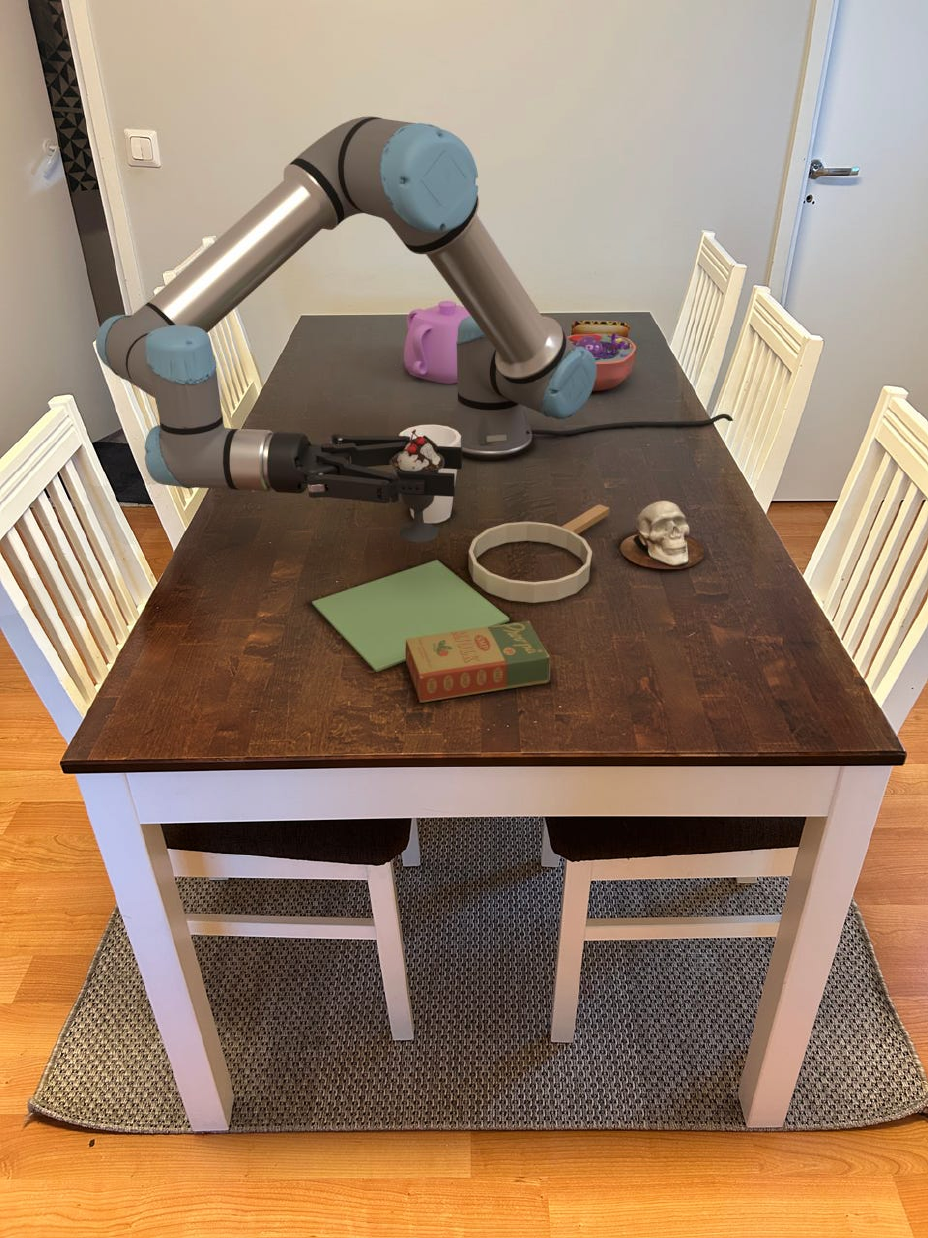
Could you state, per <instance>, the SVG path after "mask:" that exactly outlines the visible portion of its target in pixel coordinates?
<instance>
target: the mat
mask: <svg viewBox="0 0 928 1238" xmlns="http://www.w3.org/2000/svg"><path fill="white" fill-rule="evenodd" d="M311 605H313V607H314V608H315V609H316V610H317V611H318V612H319V613H320V614H321V615H322V616H323V617H324V618H325V620H326V621H328V622H329V624H330V625H331V626H332V627H333V628H334V629H335V630H336V631H337V632H338V633H339V634H340V635H341V636H342V638H344V640H346V641H347V643H348V644H349V645H350V646H351V647H352V648H353V649H354V650H355V651H356V653H358V655H359V656H360V657H361V658H362V659H363V660H364V661H365V662H366V663H367V664H368V665H369V666H370V667H371V668H372V669H373V670H374V672H375V673H379V672H381V671H384V670H386V669H389V668H391V667H394V666H396V665H398V664H401V663H404V662H406V654H405V646H406V639H408V638H415V637H421V636H428V635H435V634H442V633H448V632H455V631H462V630H469V629H475V628H482V627H489V626H495V625H502V624H506V623H508V622H509V621H510V618H509V617H508V616H507V615H506V614H505V613H503V612H502V611H501V610H500V609H498V608H497V607H496V606H495V605H493V604H492V603H491V601H489V600H488V599H486V598H485V597H484V596H483V595H481V594H480V593H479V592H477V591H476V589H474V588H473V587H471V586H470V585H469V584H468V583H466V582H465V581H464V580H463V579H462V578H461V577H459V576H458V575H456V573H454V572H453V571H452V570H450V569H449V568H448V567H447V566H446V565H444V564H443V562H440V561H439V560H438V559H435V560H431V561H428V562H426V563H423V564H420V565H417V566H414V567H411V568H407V569H406V570H403V571H399V572H396V573H393V574H391V575H387V576H384V577H382V578H379V579H376V580H373V581H369V582H367V583H363V584H360V585H358V586H355V587H352V588H348V589H345V590H343V591H340V592H336V593H333V594H330V595H328V596H325V597H322V598H319V599H316V600H312V601H311Z"/></svg>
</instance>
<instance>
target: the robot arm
mask: <svg viewBox="0 0 928 1238" xmlns="http://www.w3.org/2000/svg"><path fill="white" fill-rule="evenodd" d="M478 177H479V173H478V169H477V164H476V161H475V158H474V155H472V153H471V150H470V148H469V147H468V146H467V145H466V143H465V142H464V141H463V140H462V139H461V138H460V137H459V136H457V135H455V134H454V133H453V132H451V131H449V130H446V129H443V128H440V127H439V126H436V125H433V124H430V123H425V122H409V121H403V120H395V119H388V118H382V117H377V116H361V117H356V118H352V119H350V120H348V121H345V122H343V123H340V124H339V125H338V126H336V127H333V129H331V130H330V131H328V132H326V133H325V134H324V135H323V136H321V137H319V138H318V139H317V140H316V141H314V142H313V143H311V145H309V146H308V147H307V148H306V149H305V150H304V151H302V152H301V153H299V154H298V156H296V157H295V158H294V159H293V160H292V161H290V162H289V164H287V165H286V166H285V167H284V169H283V180H282V181H281V182H280V183H279V184H278V185H276V187H274V188H273V189H272V190H271V191H269V193H268V194H267V195H266V196H264V197H263V198H262V199H261V200H260V201H259V202H257V203H256V205H254V206H253V207H252V208H251V209H250V210H249V211H247V212H246V213H245V214H244V215H243V216H242V217H241V218H239V220H237V221H236V222H235V223H234V224H233V225H232V226H231V227H230V228H229V229H228V230H226V231H225V232H224V233H223V234H222V235H220V237H218V238H217V239H216V240H215V241H214V242H213V243H211V244H210V246H209V247H207V248H206V249H205V250H204V251H203V252H201V254H199V255H198V256H197V257H196V258H195V259H194V260H193V261H192V262H190V263H189V264H188V265H187V266H186V267H185V268H184V269H182V271H181V272H179V273H178V274H177V275H176V276H175V277H174V278H173V279H171V281H169V282H168V283H167V284H166V285H165V286H163V288H162V289H161V290H159V291H158V292H157V293H156V294H154V295H153V297H152V298H150V299H149V300H148V301H147V302H145V304H143V306H141V307H140V308H138V310H136V312H134V313H133V314H118V315H115V316H114V315H113V316H111V317H109V318H108V319H106V320H105V321H104V322H102V324H101V325H100V326H99V328H98V330H97V333H96V338H95V347H96V352H97V355H98V356H99V358H100V361H101V362H102V364H104V365H105V366H106V367H107V368H109V370H110V371H111V372H112V373H113V374H114V375H115V376H117V377H119V378H120V379H122V380H125V381H127V382H128V383H130V384H132V385H133V386H136V387H137V389H140V390H141V391H142V392H144V393H145V394H147V395H149V396H151V398H154V400H155V406H156V409H157V414H158V422H159V424H158V425H155V426H153V427H152V428H151V429H150V430H149V431H148V434H147V435H146V438H145V442H144V450H145V454H144V463H145V468H146V470H147V473H148V474H149V476H150V477H151V479H152V480H153V481H154V482H155V483H157V484H159V485H163V486H171V487H180V488H182V489H183V488H184V489H189V490H190V489H194V488H195V489H221V490H222V489H223V490H234V491H235V490H236V491H240V490H241V491H251V492H252V493H254V494H256V493H259V492H271V491H272V490H273V491H275V492H276V493H280V494H303V493H305V492H306V490H307V491H308V497H309V498H311V499H320V498H333V499H343V500H351V501H359V502H368V503H369V502H370V503H378V504H389V503H390V502H391V503H397V502H399V501H400V496H399V494H400V495H401V494H412V495H430V496H448V497H453V498H454V497H455V494H456V489H455V488H456V481H455V473H439V472H420V471H402V470H400V472H399V478H398V475H397V473H392V472H388V471H383V470H379V469H375V468H372V467H382V466H383V467H384V466H391V464H390V460H391V459H392V458H393V457H394V456H395V455H396V454H398V453H399V452H401V451H404V449H405V447H406V445H407V444H408V443H409V442H410V441H411V440H410V437H409V436H399V435H349V434H344V433H343V434H342V433H333V434H331V441H330V442H327V443H325V442H324V443H318V444H317V443H315V444H312V442H310V440H309V437H308V436H307V434H305V433H304V432H301V431H284V430H278V431H276V432H273V431H272V430H270V429H252V428H251V429H250V428H249V429H248V428H229V427H225V423H224V416H223V411H222V402H221V396H220V388H219V380H218V372H217V361H216V356H215V355H214V351H213V345H212V341H211V337H210V335H209V334H208V333H209V332H210V331H212V329H213V328H214V327H216V326H217V325H218V324H219V323H220V322H221V321H222V320H224V319H225V318H226V317H227V316H228V315H229V314H230V313H231V312H232V311H234V309H236V307H238V306H239V305H240V304H241V303H243V301H244V300H245V299H246V298H248V297H249V296H250V295H251V294H252V293H253V292H254V291H255V290H257V289H258V288H259V287H260V286H261V285H262V284H263V283H265V281H266V280H267V279H269V278H270V277H271V276H272V275H273V274H274V273H275V272H276V271H278V270H279V269H280V268H281V267H282V266H283V265H284V264H285V263H286V262H287V261H289V259H291V258H292V257H293V256H294V255H295V254H296V253H298V251H299V250H301V249H302V248H303V247H304V246H305V245H306V244H307V243H308V242H309V241H311V239H312V238H314V237H315V236H316V235H317V234H318V233H319V232H320V231H322V230H326V231H332V230H334V229H336V228H337V227H338V226H339V225H340V224H341V223H342V222H343V221H345V220H346V219H348V218H350V217H352V216H355V215H360V214H366V215H369V216H373V217H376V218H380V219H383V220H384V221H386V223H388V225H389V226H390V228H391V229H392V230H393V231H394V233H395V234H396V235H397V237H398V238H399V239H400V241H401V242H402V243H403V245H404V246H405V247H406V248H407V250H409V251H410V252H411V253H413V254H417V255H426V256H427V258H428V259H429V261H430V262H431V264H432V265H433V266H434V267H435V269H436V270H437V271H438V273H439V274H440V276H441V277H442V279H443V280H444V282H446V284H447V285H448V287H449V288H450V289H451V291H452V292H453V294H454V295H455V296H456V298H457V299H458V301H459V302H460V303H461V304H462V307H465V308H466V310H467V311H468V312H469V314H470V315H471V316H469V317H466V318H465V319H463V320H462V321H461V322H460V324H459V326H458V336H457V342H456V345H457V383H456V385H457V387H456V388H457V389H456V390H457V401H456V402H457V403H456V406H455V409H454V412H453V416H452V419H451V423H450V426H449V427H450V428H452V429H454V430H457V432H458V433H459V434H460V435H461V447H449V446H437V450H436V452H435V453H439V454H440V455H442V456H443V458H444V462H445V464H444V467H443V468H442V469H457V470H460V471H461V470H462V468H463V457H465V458H469V459H473V460H479V461H502V460H510V459H513V458H516V457H519V456H521V455H523V454H526V453H527V452H528V451H529V450H530V449H531V448H532V444H533V442H532V441H533V435H536V436H537V435H540V436H541V435H542V436H555V437H563V436H574V435H578V434H584V433H588V432H592V431H600V430H608V429H609V430H610V429H616V428H629V427H633V428H634V427H699V426H706V425H711V424H713V423H714V424H715V423H716V422H718V421H720V420H722V419H725V420H727V421H728V422H733V421H734V419H733V417H732V416H731V415H729V414H727V413H719V414H717V415H716V416H713V417H712V418H709V419H705V420H703V419H702V420H687V421H686V420H685V421H683V420H682V421H680V420H679V421H625V422H623V421H622V422H613V423H605V424H596V425H590V426H584V427H581V428H575V429H569V430H552V429H551V430H550V429H531V425H530V422H529V418H528V415H527V411H526V408H527V409H529V410H533V411H534V412H537V413H540V414H542V415H543V416H545V417H547V418H549V417H550V418H553V419H557V420H565V419H568V418H571V417H573V416H574V415H576V414H577V413H578V412H579V411H580V410H581V409H582V408H583V407H584V405H585V404H586V403H587V401H588V399H589V398H590V396H591V394H592V392H593V391H592V389H593V386H594V382H595V379H596V372H597V367H596V361H595V358H594V356H593V355H592V353H591V352H589V351H587V350H585V348H583V347H577V346H575V345H573V344H572V343H571V342H570V341H569V339H568V338H567V334H566V333H565V332H564V330H563V328H562V326H561V325H560V324H559V323H558V322H557V320H555V319H553V318H552V317H549V316H543V315H542V314H541V313H540V311H539V310H538V308H537V307H536V305H535V303H534V302H533V300H532V298H531V297H530V295H529V294H528V292H527V291H526V289H525V287H524V286H523V285H522V283H521V281H520V280H519V279H518V276H517V275H516V273H515V272H514V270H513V269H512V267H511V266H510V264H509V263H508V261H507V260H506V258H505V256H504V254H503V253H502V251H501V250H500V249H499V247H498V246H497V244H496V243H495V240H494V239H493V237H492V236H491V234H490V233H489V231H488V230H487V228H486V226H485V225H484V223H483V221H482V220H481V219H480V217H479V216H478V211H479V205H480V197H479V194H478V192H479V185H478V184H477V183H476V180H477V179H478ZM525 407H526V408H525Z"/></svg>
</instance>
